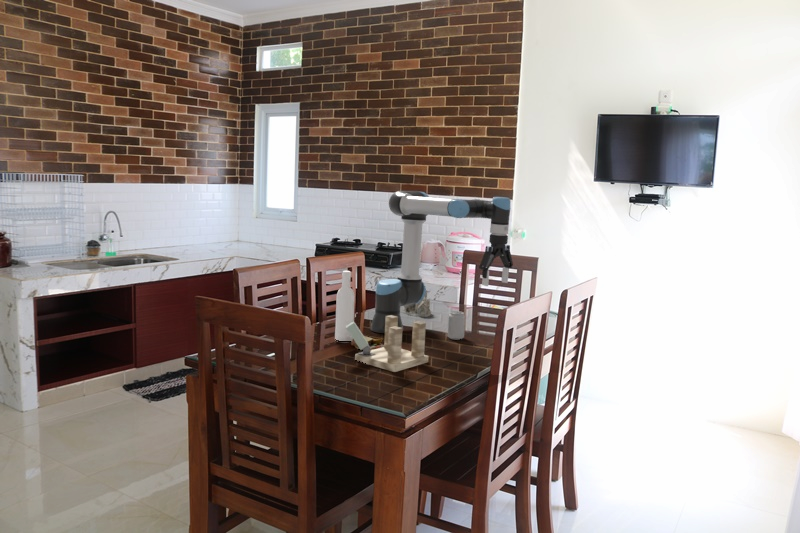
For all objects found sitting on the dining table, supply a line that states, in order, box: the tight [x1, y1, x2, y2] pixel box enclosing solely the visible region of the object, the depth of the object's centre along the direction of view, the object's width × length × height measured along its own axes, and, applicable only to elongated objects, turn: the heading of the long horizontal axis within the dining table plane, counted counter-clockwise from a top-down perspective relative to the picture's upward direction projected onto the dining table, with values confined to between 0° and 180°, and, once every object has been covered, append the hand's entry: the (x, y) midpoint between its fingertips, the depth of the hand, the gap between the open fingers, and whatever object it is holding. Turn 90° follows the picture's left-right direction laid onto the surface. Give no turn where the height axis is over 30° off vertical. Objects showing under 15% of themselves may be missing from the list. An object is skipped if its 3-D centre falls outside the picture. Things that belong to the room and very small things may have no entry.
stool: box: [354, 315, 429, 373], centre depth 246 cm, size 20×20×16 cm
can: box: [446, 310, 466, 341], centre depth 289 cm, size 8×8×12 cm
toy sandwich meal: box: [350, 335, 384, 351], centre depth 265 cm, size 12×14×5 cm
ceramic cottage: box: [400, 289, 432, 318], centre depth 339 cm, size 16×16×15 cm
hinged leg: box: [346, 321, 371, 355], centre depth 244 cm, size 4×4×13 cm
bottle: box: [334, 270, 356, 342], centre depth 274 cm, size 8×8×30 cm
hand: (495, 284), depth 271 cm, fingers open, 13 cm apart
